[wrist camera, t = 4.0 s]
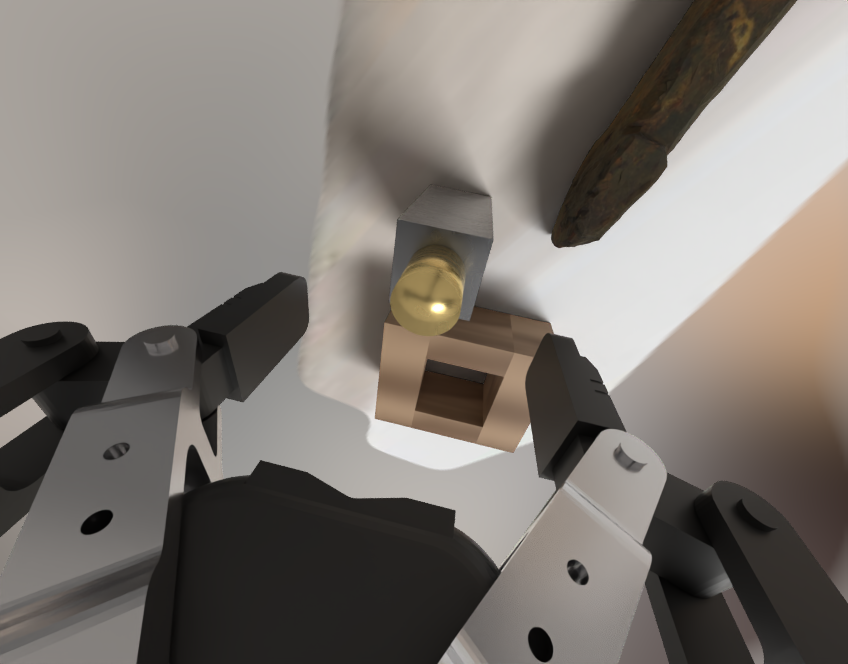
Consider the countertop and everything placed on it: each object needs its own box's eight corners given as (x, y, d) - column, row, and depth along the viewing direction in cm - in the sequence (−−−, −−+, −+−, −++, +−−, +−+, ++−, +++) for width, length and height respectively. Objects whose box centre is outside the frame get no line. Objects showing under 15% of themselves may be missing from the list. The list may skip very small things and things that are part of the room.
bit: (430, 184, 20) (375, 241, 10) (491, 196, 20) (495, 267, 10) (421, 244, 22) (368, 337, 12) (475, 255, 22) (465, 360, 12)
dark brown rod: (887, -329, 10) (1142, -621, 6) (970, -241, 10) (1254, -457, 6) (516, 215, 20) (522, 235, 17) (565, 245, 21) (582, 271, 17)
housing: (401, 289, 25) (384, 322, 20) (550, 323, 24) (563, 364, 20) (390, 378, 30) (374, 418, 26) (509, 407, 30) (513, 452, 26)
